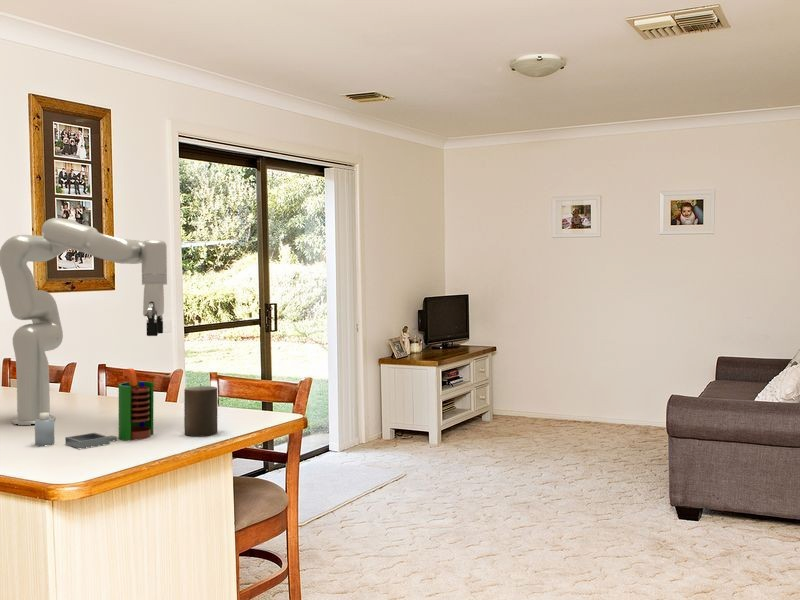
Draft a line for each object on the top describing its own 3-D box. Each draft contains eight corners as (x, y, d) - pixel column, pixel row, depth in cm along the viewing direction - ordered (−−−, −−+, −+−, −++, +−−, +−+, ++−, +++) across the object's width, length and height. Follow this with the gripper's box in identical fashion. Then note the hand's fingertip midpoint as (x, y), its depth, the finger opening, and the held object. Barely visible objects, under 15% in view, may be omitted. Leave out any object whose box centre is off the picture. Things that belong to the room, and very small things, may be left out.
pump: (32, 444, 223) (31, 413, 222) (49, 441, 227) (49, 410, 226) (39, 447, 219) (39, 415, 219) (57, 444, 223) (57, 413, 223)
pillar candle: (209, 437, 232) (209, 386, 232) (178, 435, 234) (178, 385, 233) (222, 431, 242) (222, 382, 241) (192, 429, 243) (192, 381, 243)
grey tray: (65, 444, 223) (65, 437, 223) (106, 437, 232) (106, 430, 232) (80, 449, 217) (79, 441, 217) (121, 441, 226) (121, 434, 226)
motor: (139, 441, 227) (138, 371, 226) (111, 439, 229) (110, 370, 228) (157, 434, 237) (156, 367, 236) (130, 432, 239) (129, 366, 238)
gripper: (147, 279, 256) (147, 332, 256) (136, 280, 239) (137, 337, 239) (171, 279, 257) (171, 332, 257) (162, 280, 239) (162, 336, 240)
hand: (155, 334), depth 248 cm, fingers open, 9 cm apart
